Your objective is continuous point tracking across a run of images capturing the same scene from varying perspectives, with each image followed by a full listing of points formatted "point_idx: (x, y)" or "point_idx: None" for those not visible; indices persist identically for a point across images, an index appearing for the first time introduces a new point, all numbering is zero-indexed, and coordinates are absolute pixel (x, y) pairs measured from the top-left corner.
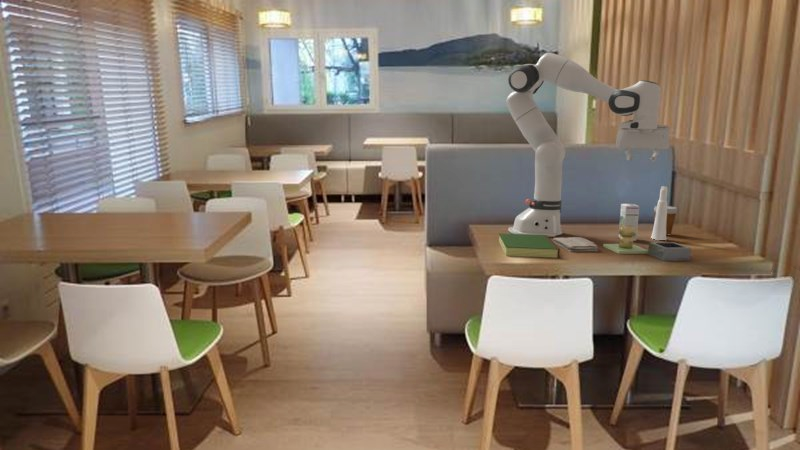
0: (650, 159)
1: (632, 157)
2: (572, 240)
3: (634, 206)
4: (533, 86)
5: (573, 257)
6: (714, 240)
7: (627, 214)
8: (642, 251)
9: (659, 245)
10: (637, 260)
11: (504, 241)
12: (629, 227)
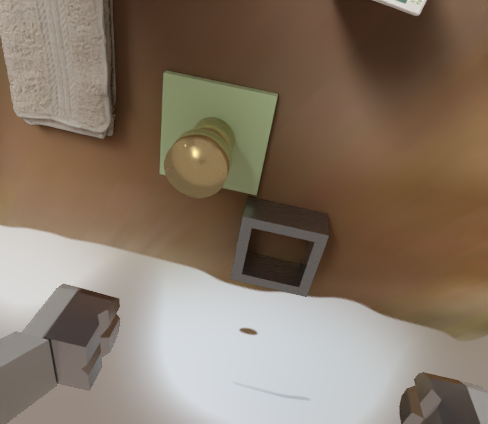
0: (420, 400)
1: (97, 372)
2: (41, 41)
3: (385, 4)
4: None
5: (17, 171)
6: None
7: None
8: (235, 189)
9: (241, 253)
10: (172, 236)
11: None
12: (189, 186)
